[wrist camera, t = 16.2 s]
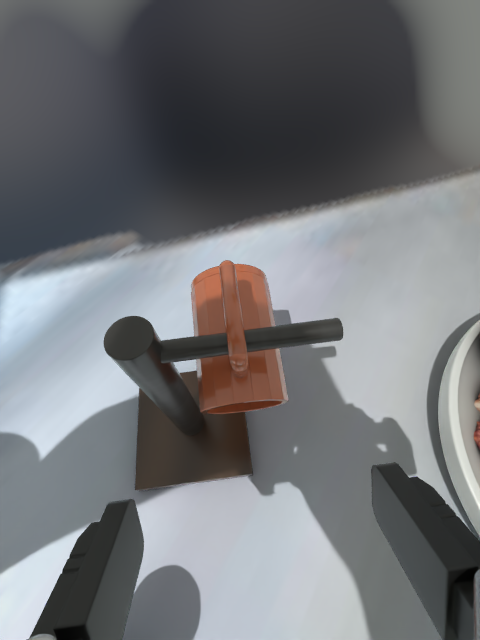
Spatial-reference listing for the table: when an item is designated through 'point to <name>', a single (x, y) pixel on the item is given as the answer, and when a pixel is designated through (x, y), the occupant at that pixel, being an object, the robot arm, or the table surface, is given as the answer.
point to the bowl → (463, 421)
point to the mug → (236, 341)
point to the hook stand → (192, 400)
